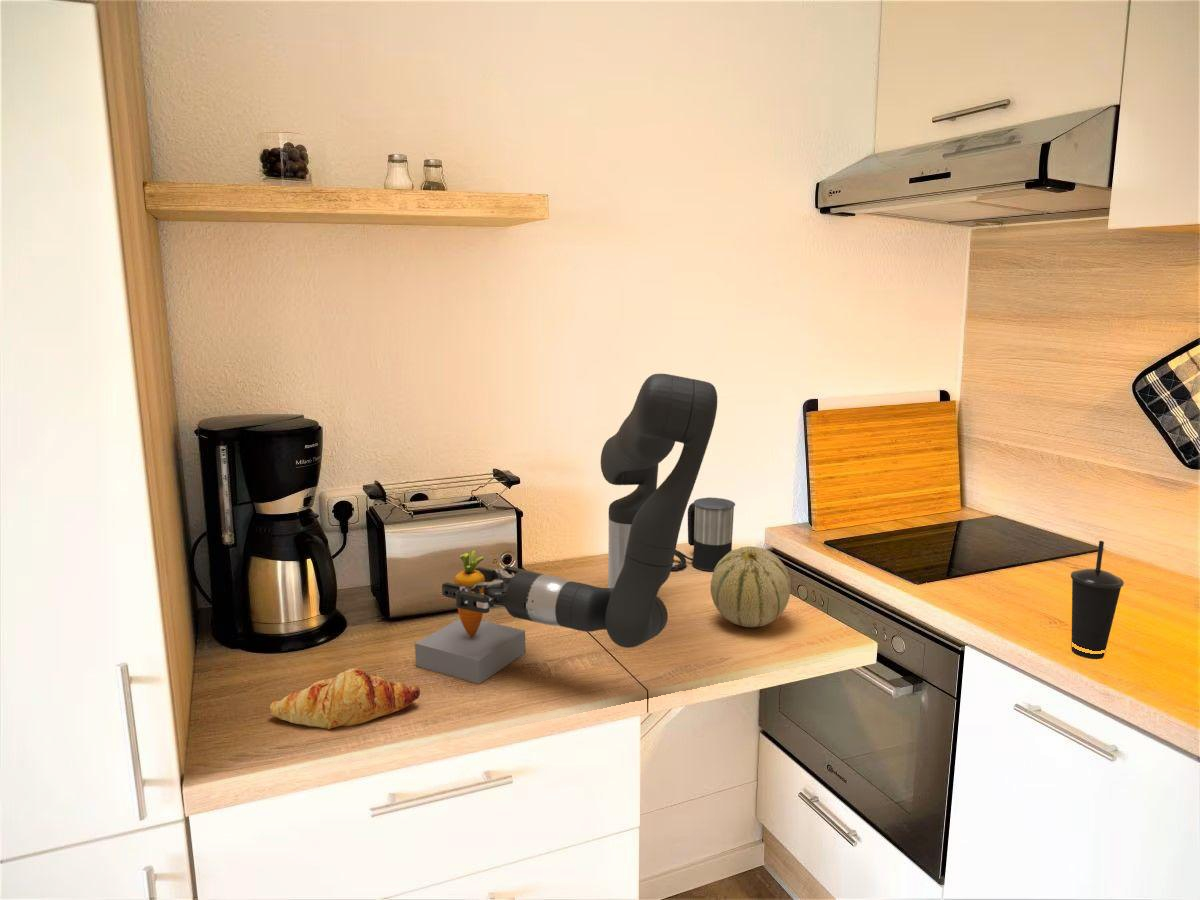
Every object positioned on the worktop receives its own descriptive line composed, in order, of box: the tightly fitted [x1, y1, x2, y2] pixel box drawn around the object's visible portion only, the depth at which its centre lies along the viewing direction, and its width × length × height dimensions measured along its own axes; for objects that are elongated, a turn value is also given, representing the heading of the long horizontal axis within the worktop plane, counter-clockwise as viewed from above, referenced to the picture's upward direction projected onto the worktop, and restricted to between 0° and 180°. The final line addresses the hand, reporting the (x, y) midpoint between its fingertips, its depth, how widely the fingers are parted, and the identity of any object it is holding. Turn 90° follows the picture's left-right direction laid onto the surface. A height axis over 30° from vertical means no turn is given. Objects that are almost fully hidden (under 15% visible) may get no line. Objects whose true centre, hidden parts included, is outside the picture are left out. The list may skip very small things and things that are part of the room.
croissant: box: [269, 667, 421, 730], centre depth 118 cm, size 21×10×8 cm, turn 102°
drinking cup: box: [1070, 540, 1125, 660], centre depth 137 cm, size 8×8×20 cm
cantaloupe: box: [710, 546, 792, 628], centre depth 149 cm, size 15×15×15 cm
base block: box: [414, 618, 526, 685], centre depth 136 cm, size 13×13×4 cm
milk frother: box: [671, 496, 736, 572], centre depth 181 cm, size 14×16×15 cm
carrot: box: [454, 550, 485, 637], centre depth 134 cm, size 5×5×15 cm
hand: (460, 580), depth 134 cm, fingers open, 8 cm apart
